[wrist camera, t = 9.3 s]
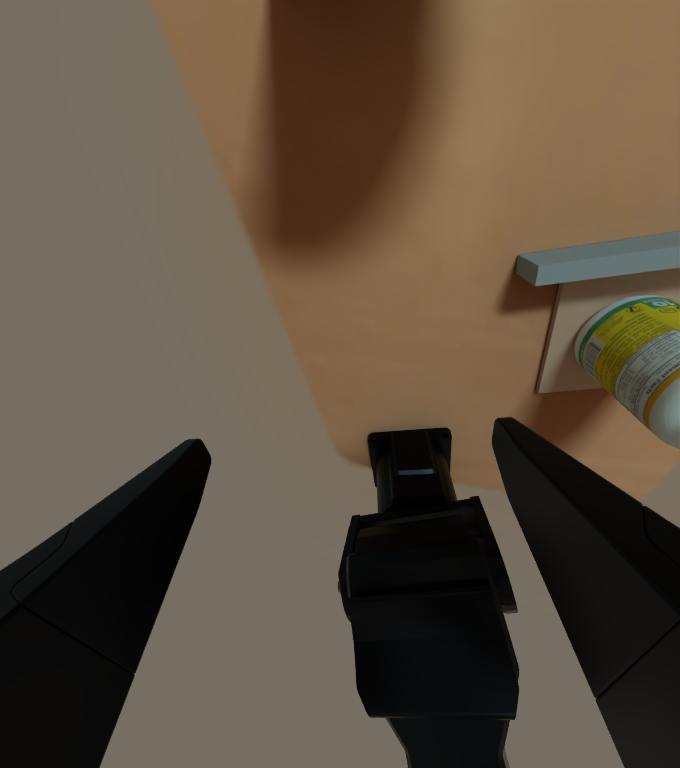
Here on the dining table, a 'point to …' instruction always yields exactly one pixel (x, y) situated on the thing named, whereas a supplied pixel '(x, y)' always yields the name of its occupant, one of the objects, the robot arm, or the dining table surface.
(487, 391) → the dining table surface
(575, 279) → the low wall
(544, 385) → the mat
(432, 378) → the dining table surface
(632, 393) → the supplement bottle
